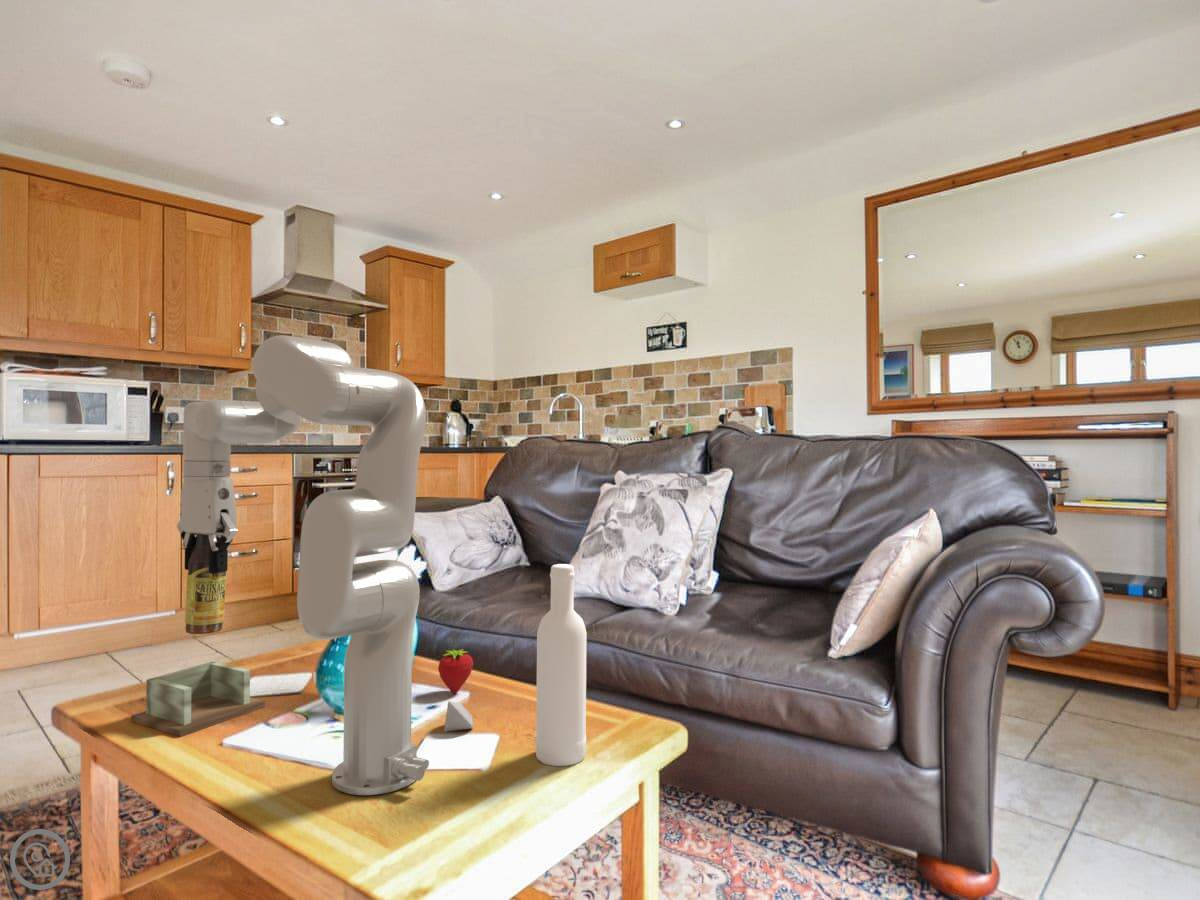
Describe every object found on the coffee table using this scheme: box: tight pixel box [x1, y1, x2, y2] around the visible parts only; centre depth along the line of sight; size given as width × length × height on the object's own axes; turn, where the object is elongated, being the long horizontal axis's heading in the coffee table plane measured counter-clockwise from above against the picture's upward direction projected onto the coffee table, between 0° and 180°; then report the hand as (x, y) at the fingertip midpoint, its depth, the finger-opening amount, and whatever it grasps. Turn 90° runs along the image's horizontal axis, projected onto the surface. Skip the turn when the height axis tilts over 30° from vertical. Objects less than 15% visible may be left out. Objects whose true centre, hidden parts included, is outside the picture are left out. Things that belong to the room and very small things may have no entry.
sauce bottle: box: [184, 530, 227, 635], centre depth 130 cm, size 7×6×20 cm
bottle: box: [535, 563, 588, 767], centre depth 113 cm, size 8×8×30 cm
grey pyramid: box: [443, 700, 474, 733], centre depth 124 cm, size 6×6×5 cm
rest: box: [130, 661, 266, 738], centre depth 130 cm, size 14×16×7 cm
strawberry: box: [437, 647, 474, 694], centre depth 142 cm, size 6×8×10 cm
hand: (205, 569), depth 130 cm, fingers closed on sauce bottle, 6 cm apart
